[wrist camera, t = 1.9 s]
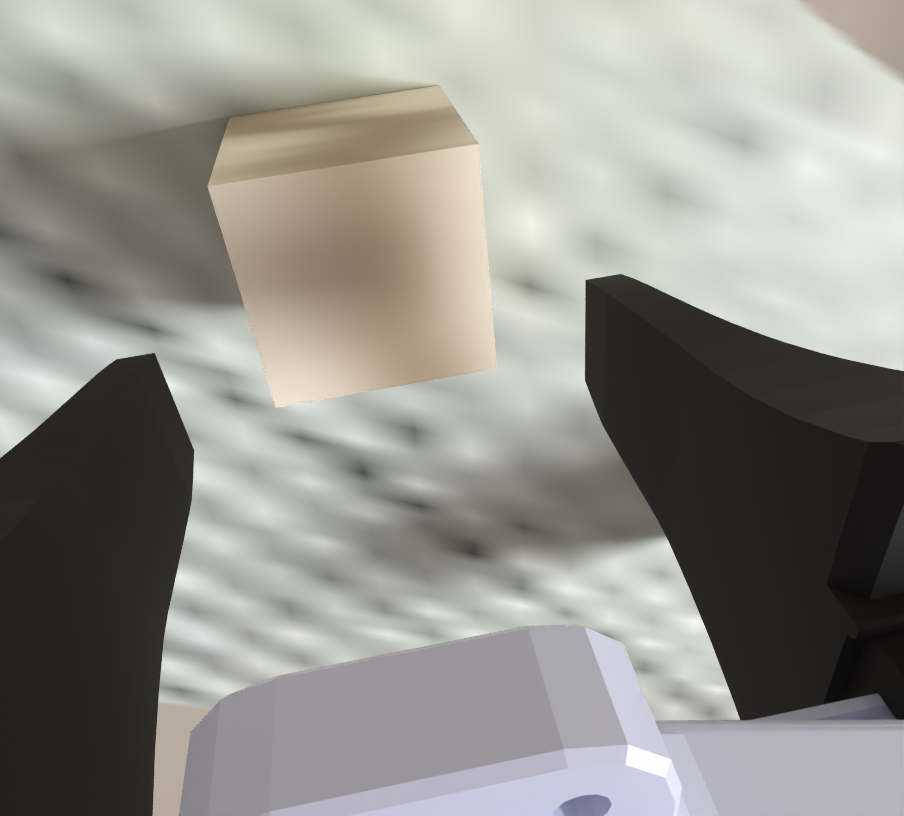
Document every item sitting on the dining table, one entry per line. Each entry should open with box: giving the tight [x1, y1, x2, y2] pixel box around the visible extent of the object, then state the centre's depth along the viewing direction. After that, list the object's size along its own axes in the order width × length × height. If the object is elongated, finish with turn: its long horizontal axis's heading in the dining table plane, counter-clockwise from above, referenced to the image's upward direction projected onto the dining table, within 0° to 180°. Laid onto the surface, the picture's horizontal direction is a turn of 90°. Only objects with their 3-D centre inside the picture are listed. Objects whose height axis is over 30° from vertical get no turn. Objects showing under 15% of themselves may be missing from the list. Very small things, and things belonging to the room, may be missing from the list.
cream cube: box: [207, 85, 497, 408], centre depth 17 cm, size 5×5×5 cm
